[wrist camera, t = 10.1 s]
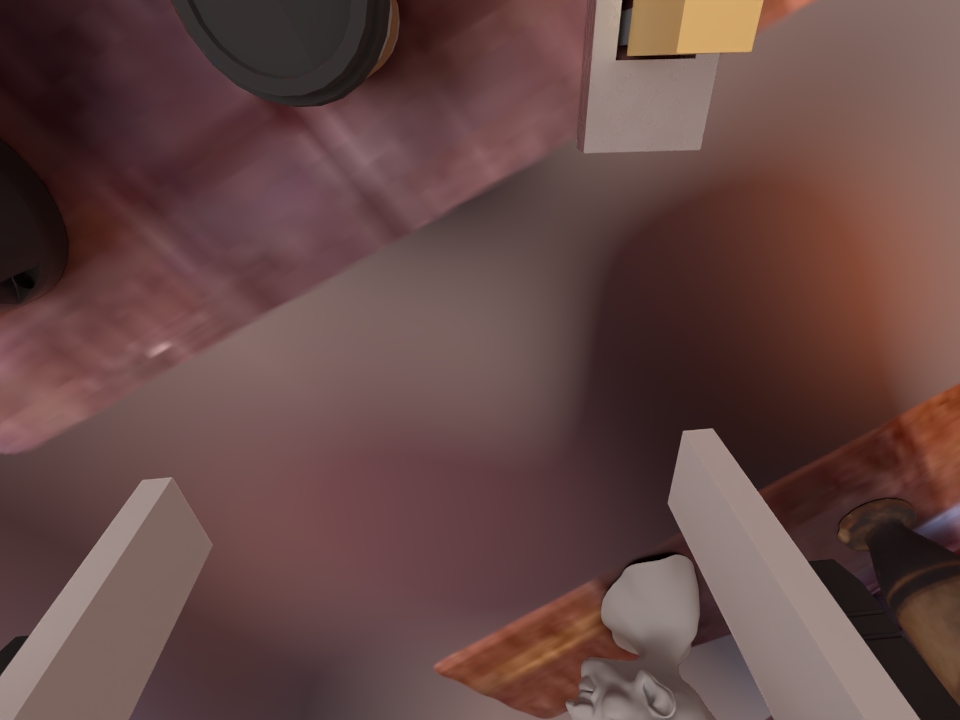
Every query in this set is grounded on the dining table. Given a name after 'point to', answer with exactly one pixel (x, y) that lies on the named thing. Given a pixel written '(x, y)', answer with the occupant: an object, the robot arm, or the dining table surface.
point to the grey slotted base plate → (639, 93)
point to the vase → (913, 582)
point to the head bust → (645, 647)
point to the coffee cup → (294, 44)
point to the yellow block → (689, 26)
